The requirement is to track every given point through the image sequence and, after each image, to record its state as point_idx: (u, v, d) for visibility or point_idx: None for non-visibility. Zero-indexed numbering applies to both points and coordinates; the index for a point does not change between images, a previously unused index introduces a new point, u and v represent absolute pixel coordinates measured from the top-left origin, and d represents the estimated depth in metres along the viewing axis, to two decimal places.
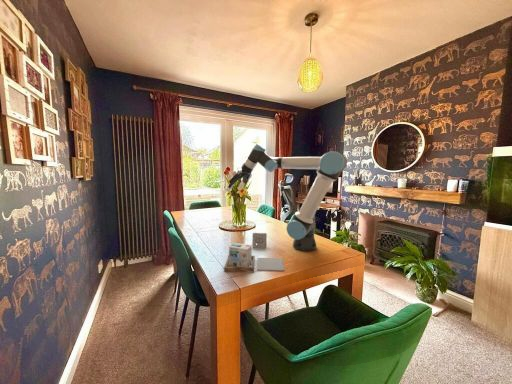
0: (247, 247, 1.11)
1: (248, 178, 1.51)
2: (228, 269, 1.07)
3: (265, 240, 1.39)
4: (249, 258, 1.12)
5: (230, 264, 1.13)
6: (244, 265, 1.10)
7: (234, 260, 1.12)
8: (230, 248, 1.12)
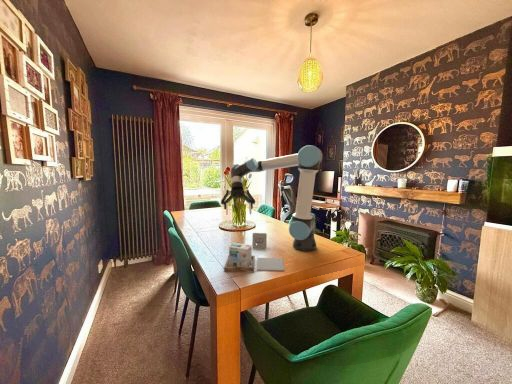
0: (247, 247, 1.11)
1: (251, 196, 1.29)
2: (228, 269, 1.07)
3: (265, 240, 1.39)
4: (249, 258, 1.12)
5: (230, 264, 1.13)
6: (244, 265, 1.10)
7: (234, 260, 1.12)
8: (230, 248, 1.12)
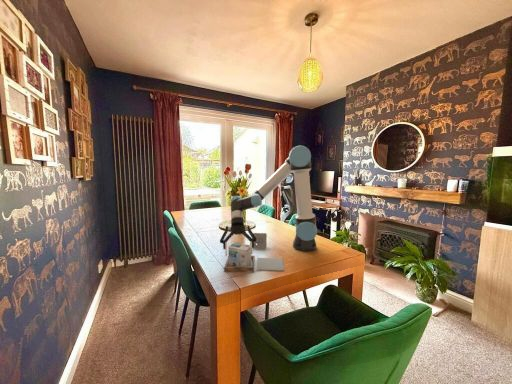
0: (246, 248, 1.10)
1: (252, 234, 1.21)
2: (228, 269, 1.07)
3: (265, 240, 1.39)
4: (248, 258, 1.11)
5: (230, 264, 1.13)
6: (243, 265, 1.10)
7: (233, 260, 1.12)
8: (229, 248, 1.12)
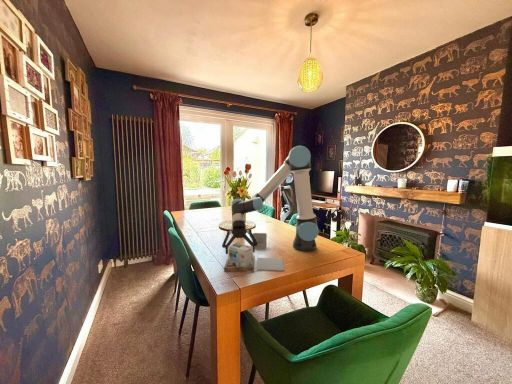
0: (246, 248, 1.10)
1: (253, 238, 1.19)
2: (228, 269, 1.07)
3: (265, 240, 1.39)
4: (248, 259, 1.10)
5: (230, 264, 1.13)
6: (242, 266, 1.09)
7: (233, 260, 1.12)
8: (230, 248, 1.12)
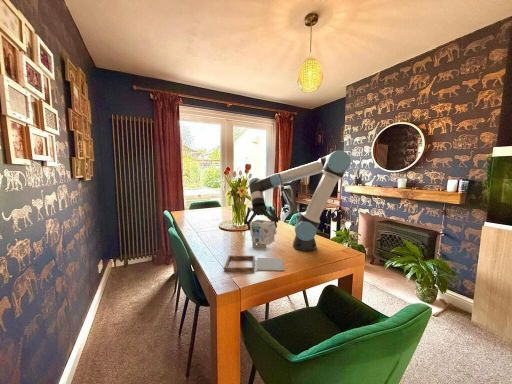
0: (269, 223, 1.09)
1: (274, 214, 1.18)
2: (228, 269, 1.07)
3: None
4: (271, 234, 1.09)
5: (252, 240, 1.12)
6: (266, 241, 1.08)
7: (256, 235, 1.11)
8: (252, 223, 1.11)
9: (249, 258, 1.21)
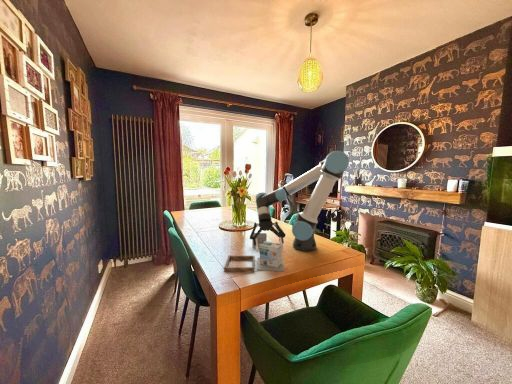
0: (277, 246, 1.11)
1: (280, 229, 1.21)
2: (228, 269, 1.07)
3: (265, 240, 1.39)
4: (279, 256, 1.12)
5: (260, 262, 1.14)
6: (274, 264, 1.10)
7: (264, 258, 1.13)
8: (260, 246, 1.13)
9: (249, 258, 1.21)
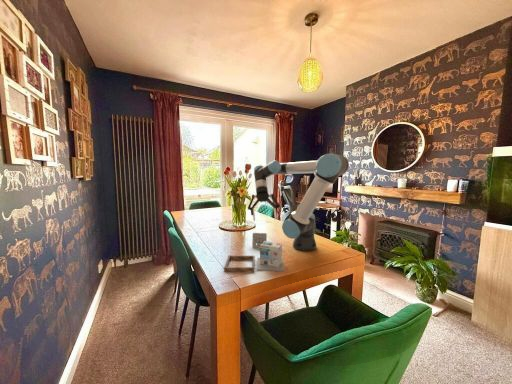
0: (278, 246, 1.12)
1: (275, 201, 1.35)
2: (228, 269, 1.07)
3: (265, 240, 1.39)
4: (280, 256, 1.13)
5: (261, 262, 1.14)
6: (275, 263, 1.11)
7: (265, 258, 1.13)
8: (261, 246, 1.13)
9: (249, 258, 1.21)
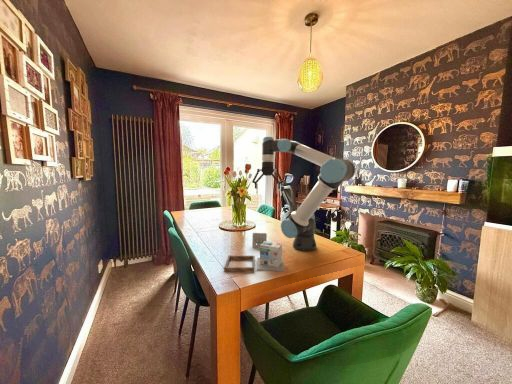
0: (278, 246, 1.12)
1: (279, 177, 1.39)
2: (228, 269, 1.07)
3: (265, 240, 1.39)
4: (280, 256, 1.13)
5: (261, 262, 1.14)
6: (275, 263, 1.11)
7: (265, 258, 1.13)
8: (261, 246, 1.13)
9: (249, 258, 1.21)
